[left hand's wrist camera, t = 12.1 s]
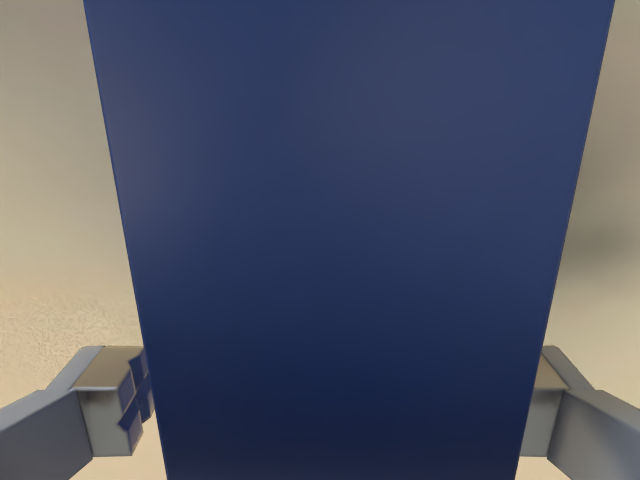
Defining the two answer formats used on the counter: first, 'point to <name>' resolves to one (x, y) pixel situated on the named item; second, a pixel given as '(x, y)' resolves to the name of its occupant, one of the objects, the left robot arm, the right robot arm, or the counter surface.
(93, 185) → the counter surface
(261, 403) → the box
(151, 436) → the counter surface
